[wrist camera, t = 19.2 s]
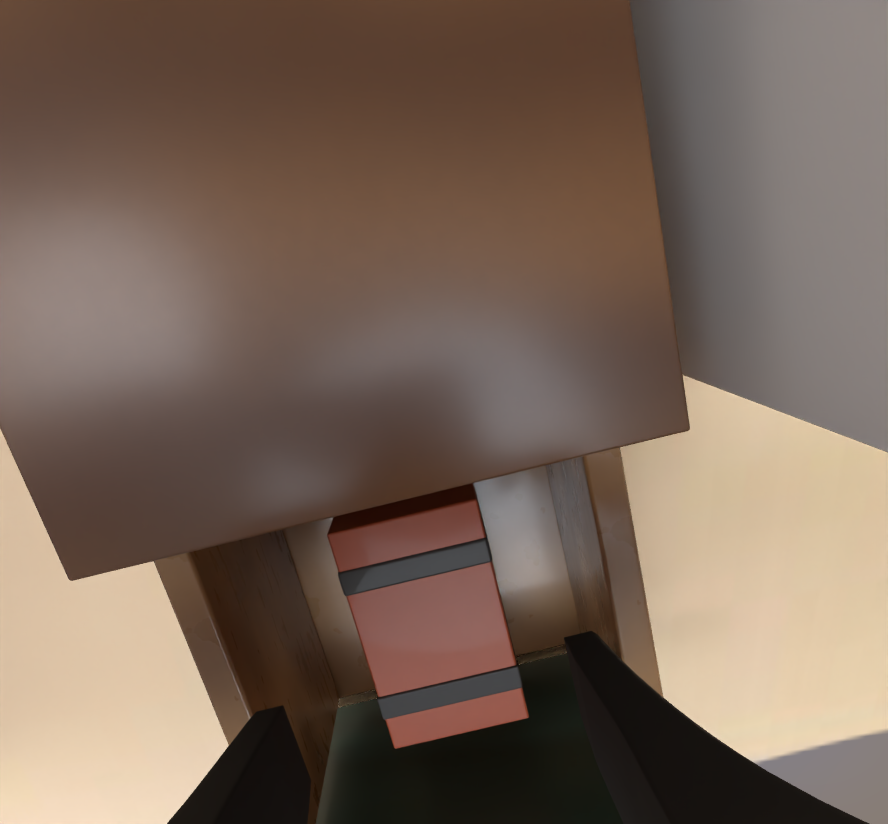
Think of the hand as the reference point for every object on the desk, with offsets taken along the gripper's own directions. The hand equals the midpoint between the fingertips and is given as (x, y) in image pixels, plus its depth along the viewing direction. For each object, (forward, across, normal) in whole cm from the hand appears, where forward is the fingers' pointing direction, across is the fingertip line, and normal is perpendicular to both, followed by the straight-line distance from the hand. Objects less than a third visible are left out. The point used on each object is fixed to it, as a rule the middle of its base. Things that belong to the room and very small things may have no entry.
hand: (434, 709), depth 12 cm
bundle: (+6, 0, 0) cm, 6 cm away
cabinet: (+8, 0, -12) cm, 15 cm away
